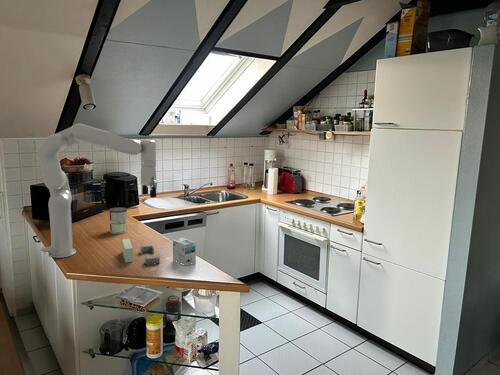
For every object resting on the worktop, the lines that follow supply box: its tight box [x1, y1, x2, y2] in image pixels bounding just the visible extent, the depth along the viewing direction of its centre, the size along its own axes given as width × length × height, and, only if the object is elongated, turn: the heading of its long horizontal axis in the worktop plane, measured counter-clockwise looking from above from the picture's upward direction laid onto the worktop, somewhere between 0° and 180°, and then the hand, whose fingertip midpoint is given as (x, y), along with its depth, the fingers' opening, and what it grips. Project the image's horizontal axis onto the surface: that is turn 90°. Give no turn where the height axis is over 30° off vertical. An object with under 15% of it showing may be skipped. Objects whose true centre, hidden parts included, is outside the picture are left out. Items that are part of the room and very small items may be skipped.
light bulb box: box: [172, 237, 197, 266], centre depth 189 cm, size 11×7×11 cm, turn 46°
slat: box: [121, 238, 134, 263], centre depth 193 cm, size 4×16×7 cm, turn 23°
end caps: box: [139, 245, 160, 265], centre depth 193 cm, size 6×20×3 cm, turn 24°
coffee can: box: [108, 206, 128, 235], centre depth 236 cm, size 10×10×14 cm
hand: (149, 195), depth 205 cm, fingers open, 9 cm apart
